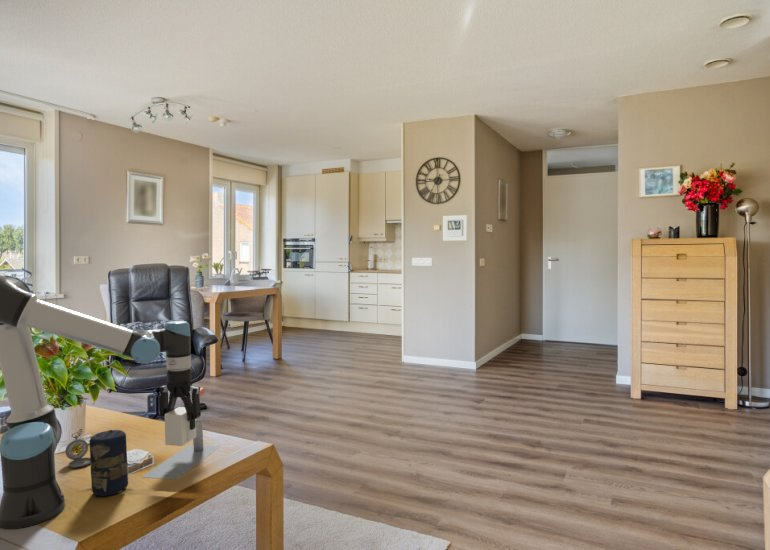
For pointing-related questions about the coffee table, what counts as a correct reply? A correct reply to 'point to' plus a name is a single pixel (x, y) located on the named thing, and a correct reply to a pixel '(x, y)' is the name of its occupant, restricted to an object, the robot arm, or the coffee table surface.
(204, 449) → the gray post stand
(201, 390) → the multicoloured piece
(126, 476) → the canister
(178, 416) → the white block
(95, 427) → the coffee table surface
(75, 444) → the pocket watch
